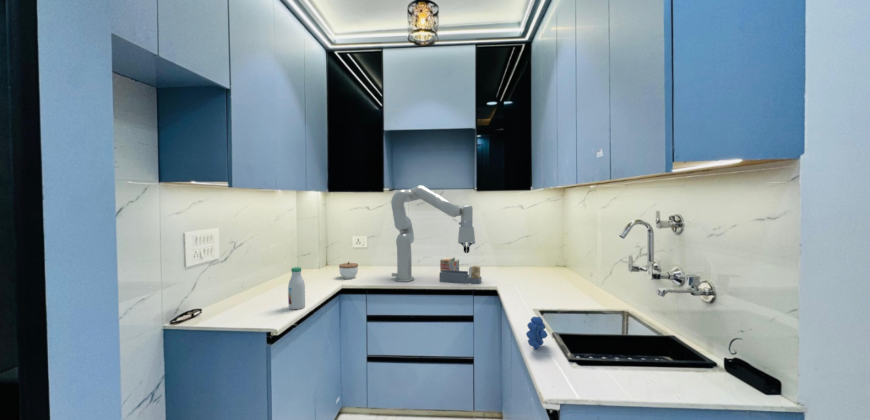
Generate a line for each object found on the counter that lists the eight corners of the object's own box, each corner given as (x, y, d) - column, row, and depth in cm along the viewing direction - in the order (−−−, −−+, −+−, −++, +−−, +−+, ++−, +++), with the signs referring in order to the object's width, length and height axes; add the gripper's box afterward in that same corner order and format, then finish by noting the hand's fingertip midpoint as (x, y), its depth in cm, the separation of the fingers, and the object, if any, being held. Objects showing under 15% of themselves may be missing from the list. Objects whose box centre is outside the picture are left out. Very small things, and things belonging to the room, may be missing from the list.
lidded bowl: (360, 275, 248) (359, 260, 247) (355, 280, 235) (355, 263, 235) (342, 275, 248) (342, 260, 247) (336, 280, 235) (336, 263, 235)
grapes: (539, 357, 120) (540, 322, 120) (521, 351, 125) (522, 318, 124) (554, 346, 129) (554, 314, 128) (537, 341, 133) (537, 310, 133)
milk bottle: (307, 305, 180) (306, 266, 179) (301, 310, 172) (301, 269, 171) (292, 305, 180) (291, 266, 179) (285, 310, 172) (285, 269, 171)
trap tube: (439, 281, 229) (439, 272, 229) (442, 278, 238) (442, 269, 237) (479, 284, 222) (479, 274, 222) (481, 281, 231) (481, 271, 230)
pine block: (471, 278, 225) (471, 267, 225) (472, 276, 230) (472, 266, 230) (479, 278, 224) (479, 267, 224) (480, 277, 229) (480, 266, 229)
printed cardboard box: (451, 271, 263) (451, 254, 263) (459, 271, 261) (459, 255, 260) (440, 277, 244) (440, 259, 243) (448, 277, 241) (448, 259, 241)
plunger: (456, 277, 227) (456, 267, 227) (458, 275, 233) (458, 265, 233) (471, 277, 225) (471, 268, 225) (472, 275, 231) (472, 266, 231)
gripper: (453, 224, 226) (453, 253, 227) (477, 225, 222) (477, 254, 223) (456, 223, 233) (456, 251, 234) (479, 224, 229) (479, 252, 230)
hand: (466, 252), depth 228 cm, fingers closed
